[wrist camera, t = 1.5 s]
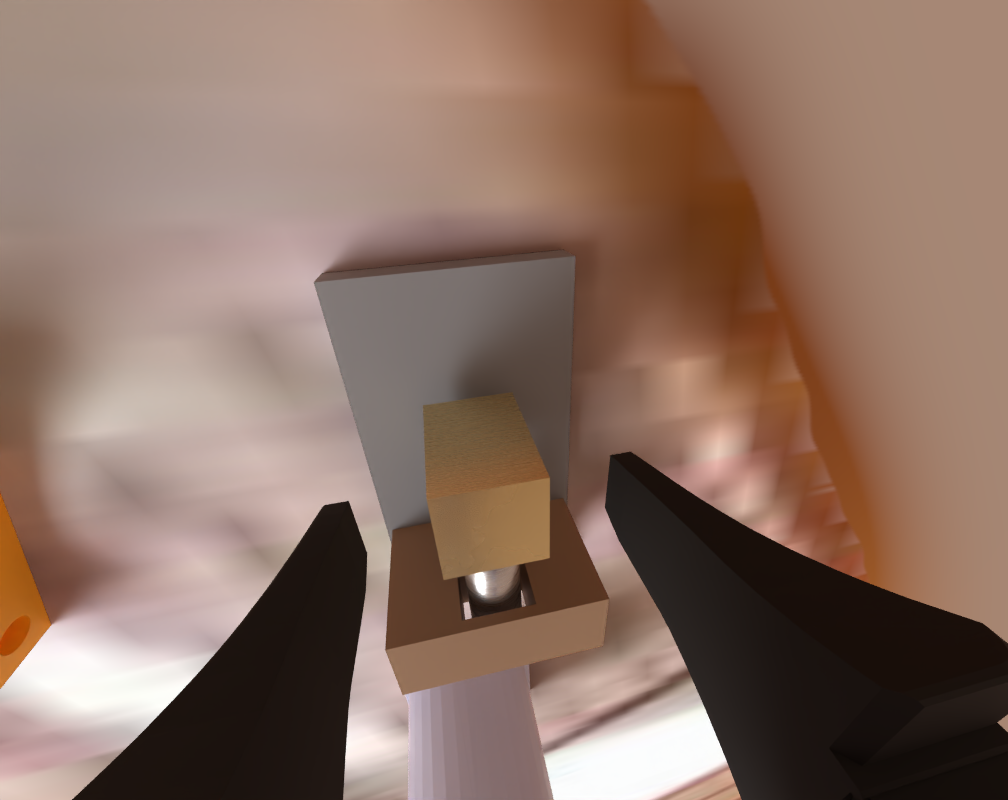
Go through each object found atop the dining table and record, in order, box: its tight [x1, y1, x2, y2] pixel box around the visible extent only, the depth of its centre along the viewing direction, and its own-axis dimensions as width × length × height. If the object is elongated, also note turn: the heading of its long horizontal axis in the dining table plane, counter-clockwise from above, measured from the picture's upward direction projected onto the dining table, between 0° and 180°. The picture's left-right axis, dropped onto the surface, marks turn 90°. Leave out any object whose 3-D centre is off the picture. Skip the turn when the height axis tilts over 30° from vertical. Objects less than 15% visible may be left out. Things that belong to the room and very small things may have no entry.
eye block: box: [314, 250, 609, 695], centre depth 15 cm, size 16×8×6 cm, turn 3°
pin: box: [423, 392, 550, 671], centre depth 14 cm, size 11×3×4 cm, turn 3°
